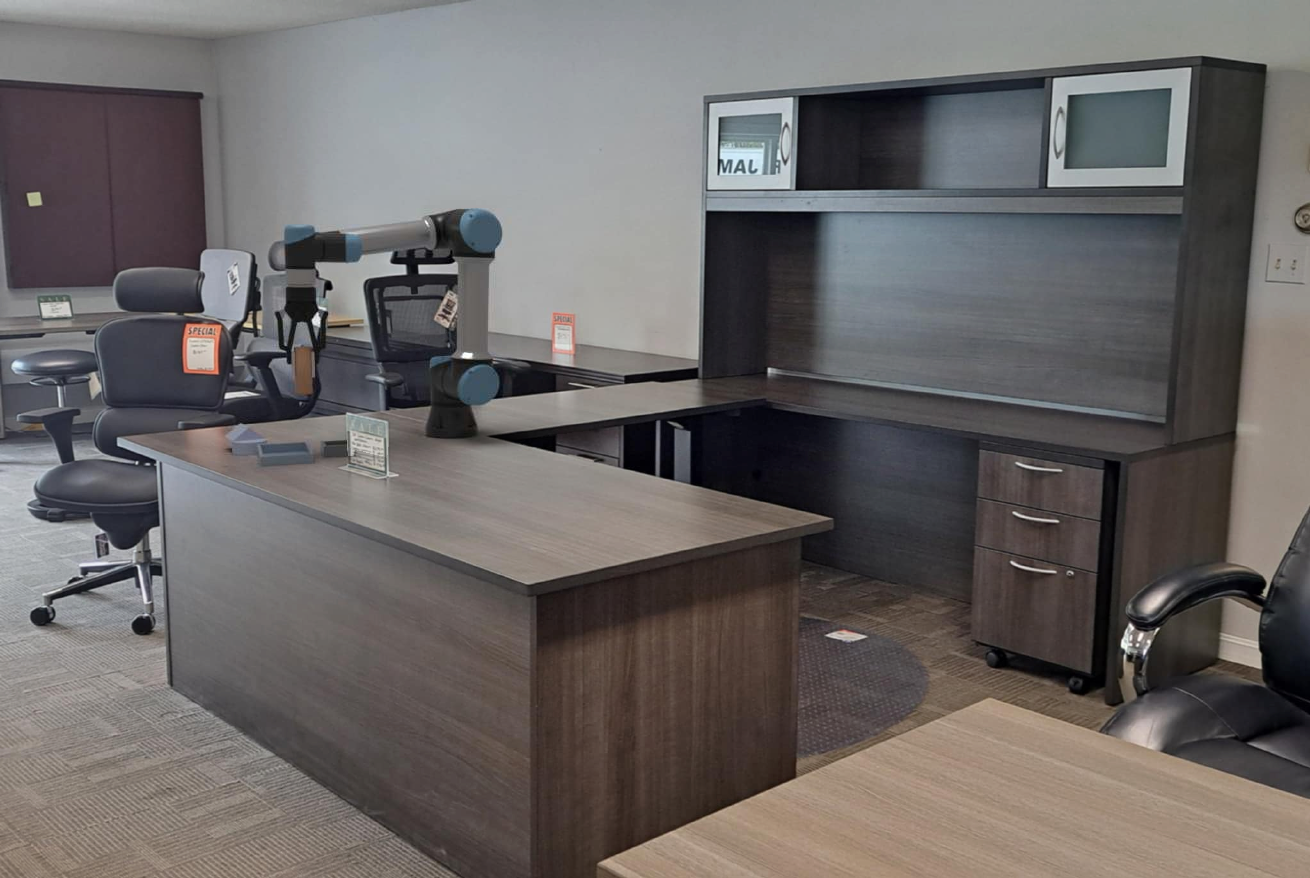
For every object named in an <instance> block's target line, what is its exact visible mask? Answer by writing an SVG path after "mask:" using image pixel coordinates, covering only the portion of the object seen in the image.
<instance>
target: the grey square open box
mask: <svg viewBox="0 0 1310 878" xmlns="http://www.w3.org/2000/svg"><path fill="white" fill-rule="evenodd" d="M347 440H348V439H339V440H338V439H337V440H321V441H320V453H321V456H322V457H323V458H324V459H330V458H347V456H348V451H347Z"/></svg>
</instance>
